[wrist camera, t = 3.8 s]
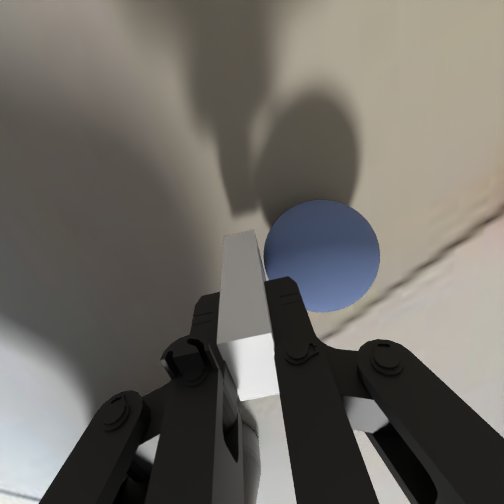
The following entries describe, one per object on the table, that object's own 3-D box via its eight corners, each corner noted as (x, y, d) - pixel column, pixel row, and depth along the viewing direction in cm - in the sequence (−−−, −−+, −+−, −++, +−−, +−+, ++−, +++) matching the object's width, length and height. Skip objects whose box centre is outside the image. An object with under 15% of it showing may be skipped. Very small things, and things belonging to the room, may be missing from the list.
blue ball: (265, 279, 17) (281, 347, 12) (250, 197, 14) (262, 243, 9) (350, 262, 17) (399, 324, 12) (350, 177, 14) (414, 212, 9)
